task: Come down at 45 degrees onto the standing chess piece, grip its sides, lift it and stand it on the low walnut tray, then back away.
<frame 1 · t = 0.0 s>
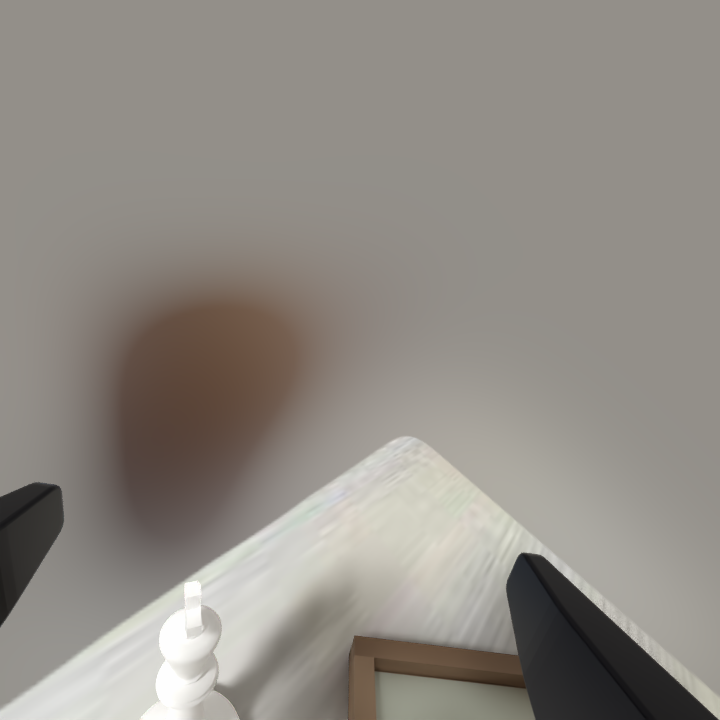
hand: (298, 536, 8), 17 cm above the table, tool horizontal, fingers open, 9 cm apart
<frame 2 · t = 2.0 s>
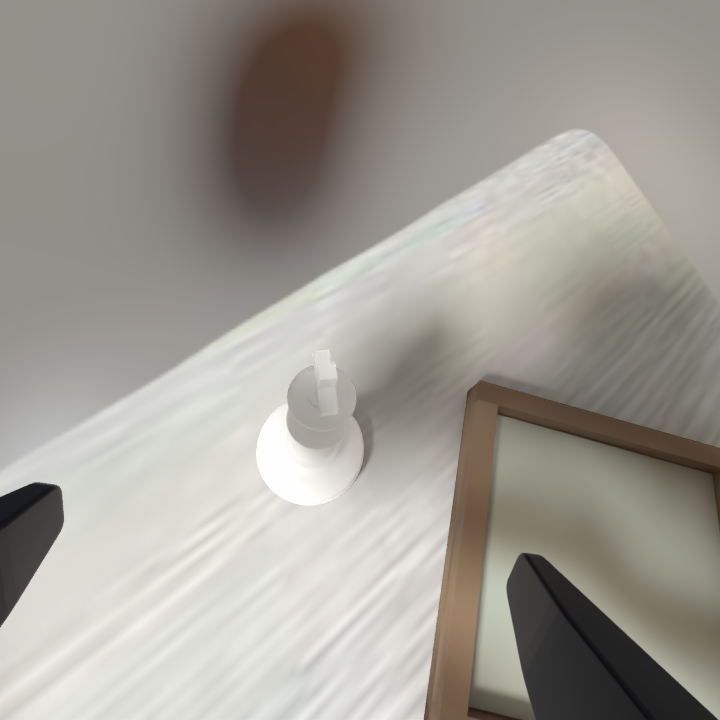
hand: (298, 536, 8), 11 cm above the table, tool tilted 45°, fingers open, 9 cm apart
chess piece: (311, 450, 19), on the table
walnut tray: (594, 571, 19), on the table
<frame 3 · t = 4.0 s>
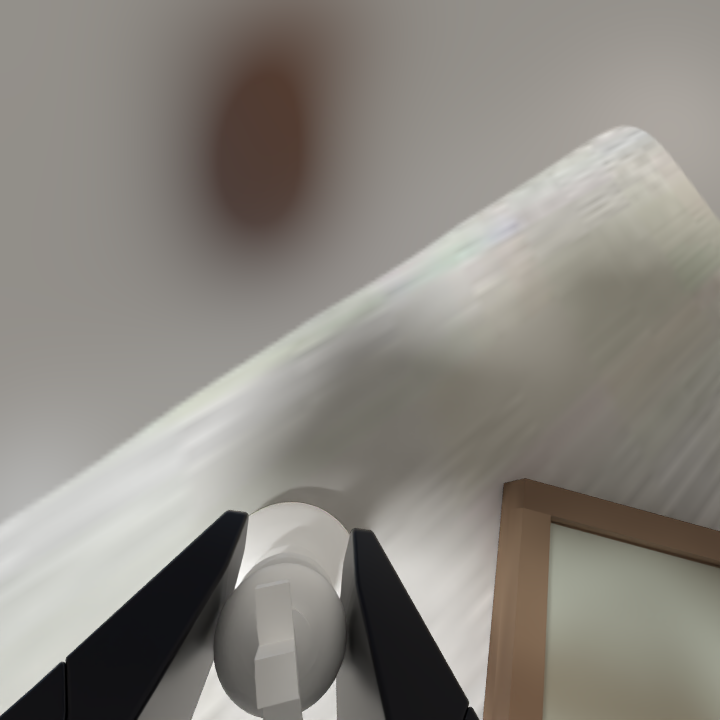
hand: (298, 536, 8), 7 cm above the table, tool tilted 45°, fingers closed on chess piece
chess piece: (287, 580, 14), on the table, touching gripper
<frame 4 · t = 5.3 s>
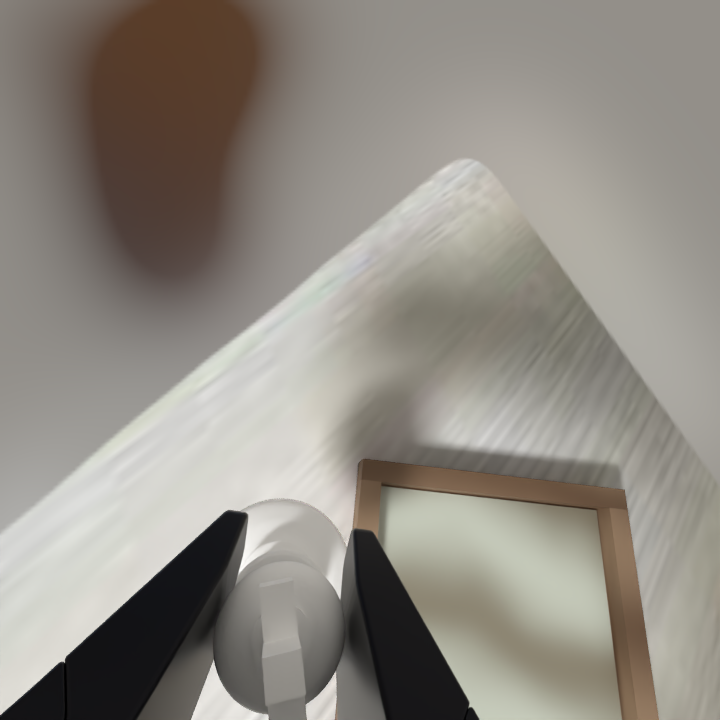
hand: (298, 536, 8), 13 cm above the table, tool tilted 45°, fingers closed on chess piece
chess piece: (276, 576, 14), point 6 cm above the table, touching gripper
walnut tray: (488, 627, 20), on the table
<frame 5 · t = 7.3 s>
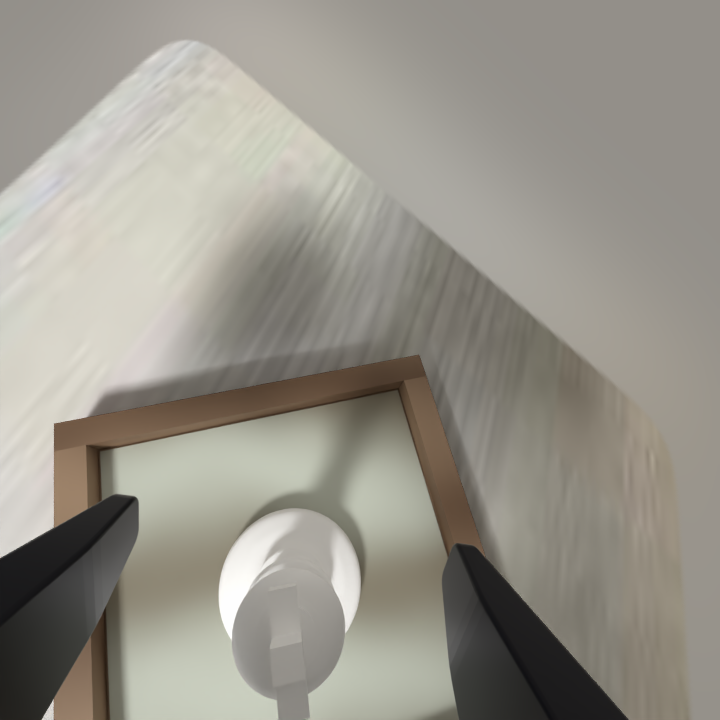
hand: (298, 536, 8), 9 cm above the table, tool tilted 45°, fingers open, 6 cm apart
chess piece: (291, 581, 15), point 1 cm above the table, touching walnut tray
walnut tray: (288, 574, 15), on the table
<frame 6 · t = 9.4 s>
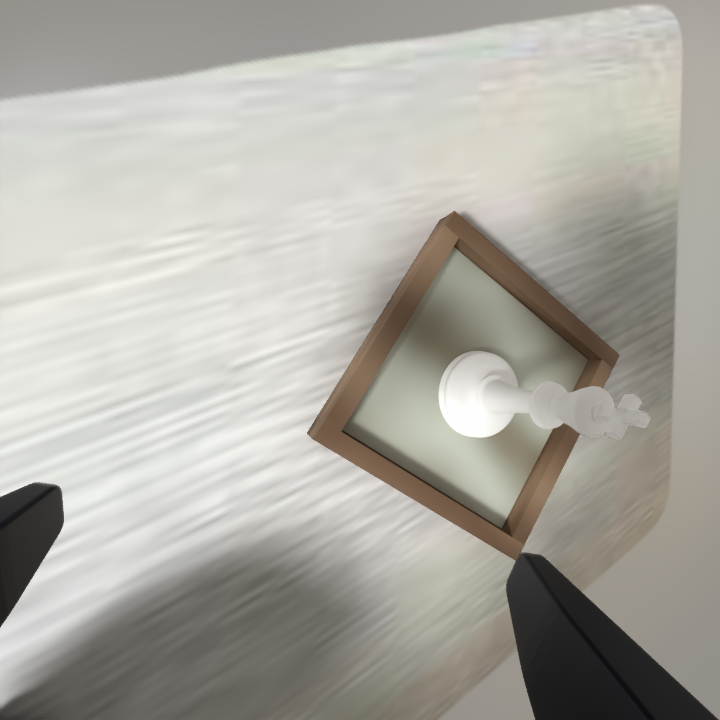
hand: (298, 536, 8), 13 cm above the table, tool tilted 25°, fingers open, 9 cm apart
chess piece: (474, 393, 24), point 1 cm above the table, touching walnut tray
walnut tray: (470, 389, 24), on the table
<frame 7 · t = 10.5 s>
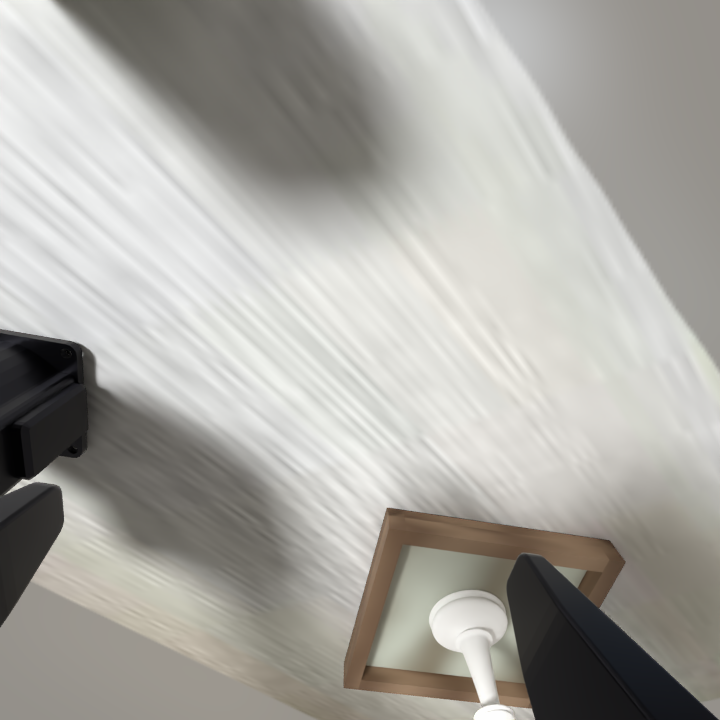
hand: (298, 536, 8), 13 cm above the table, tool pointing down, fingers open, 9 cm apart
chess piece: (466, 613, 27), point 1 cm above the table, touching walnut tray
walnut tray: (467, 606, 27), on the table
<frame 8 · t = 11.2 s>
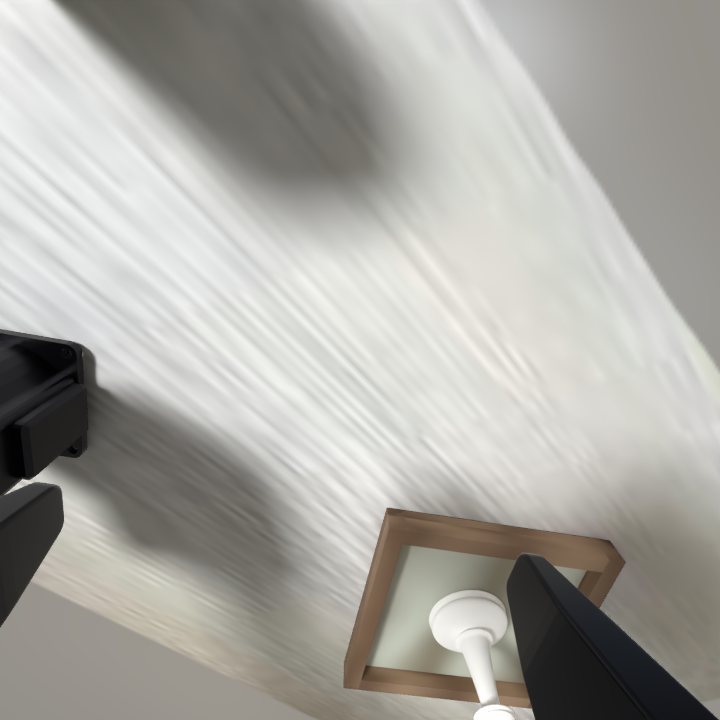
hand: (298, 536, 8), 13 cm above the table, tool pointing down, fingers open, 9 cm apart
chess piece: (466, 613, 27), point 1 cm above the table, touching walnut tray
walnut tray: (467, 606, 27), on the table
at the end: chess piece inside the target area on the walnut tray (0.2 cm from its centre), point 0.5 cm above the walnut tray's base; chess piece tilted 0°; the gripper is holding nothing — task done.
